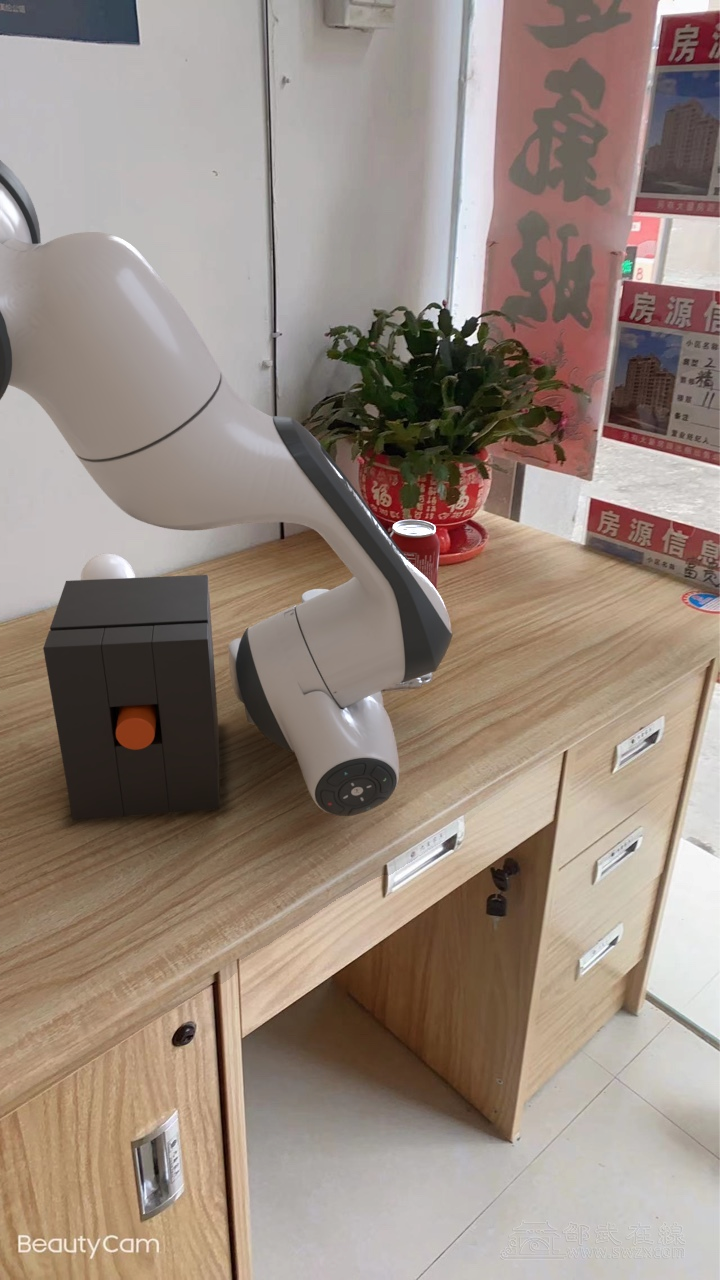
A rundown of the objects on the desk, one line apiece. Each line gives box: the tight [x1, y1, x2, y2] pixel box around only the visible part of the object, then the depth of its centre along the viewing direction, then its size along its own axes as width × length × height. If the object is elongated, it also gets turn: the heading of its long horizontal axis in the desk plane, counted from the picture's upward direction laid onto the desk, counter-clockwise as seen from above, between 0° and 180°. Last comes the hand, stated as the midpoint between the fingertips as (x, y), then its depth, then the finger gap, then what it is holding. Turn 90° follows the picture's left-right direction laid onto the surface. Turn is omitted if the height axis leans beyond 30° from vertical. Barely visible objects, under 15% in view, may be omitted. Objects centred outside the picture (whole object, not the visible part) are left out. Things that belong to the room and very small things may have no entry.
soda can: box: [389, 519, 441, 591], centre depth 115 cm, size 7×7×12 cm
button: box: [116, 704, 157, 750], centre depth 75 cm, size 3×3×3 cm
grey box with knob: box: [42, 574, 221, 821], centre depth 81 cm, size 13×13×18 cm
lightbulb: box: [80, 553, 136, 580], centre depth 107 cm, size 6×6×11 cm
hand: (318, 627), depth 98 cm, fingers closed on pill bottle, 5 cm apart
